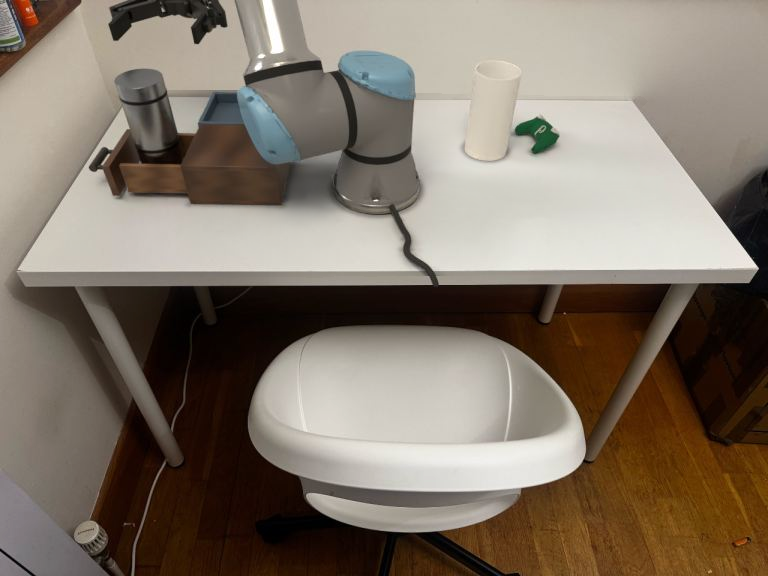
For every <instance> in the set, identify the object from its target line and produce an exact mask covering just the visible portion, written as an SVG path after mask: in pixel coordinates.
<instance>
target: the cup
mask: <svg viewBox="0 0 768 576" xmlns="http://www.w3.org/2000/svg"><path fill="white" fill-rule="evenodd" d="M521 79H522V69H521V68H520V66H518V65H517V64H514V63H511V62H509V61H504V60H485V61H481V62H479V63H478V64H477V65H475V67H474V73H473V81H472V88H471V96H470V104H469V111H468V118H467V126H466V133H465V140H464V152H465V154H466V155H468V156H469V157H471V158H472V159H475V160H477V161H483V162H494V161H499V160H501V159H503V158H504V157H506V155H507V152H508V147H509V141H510V135H511V130H512V125H513V121H514V120H513V119H514V115H515V110H516V105H517V99H518V94H519V89H520V83H521Z"/></svg>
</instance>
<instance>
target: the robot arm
mask: <svg viewBox="0 0 768 576" xmlns="http://www.w3.org/2000/svg"><path fill="white" fill-rule="evenodd" d="M234 4H235V7H236V11H237V15H238V20H239V24H240V27H241V31H242V34H243V35H242V36H243V39H244V43H245V47H246V51H247V55H248V58H249V62H248V64H247V66H246V68H245V70H244V71H243V74H242V77H243V81H244V84H245V85H243V86H241V88H239V89H238V90H237V92H236V93H237V100H238V103H239V106H240V112H241V115H242V118H243V121H244V124H245V126H246V129H247V131H248V133H249V135H250V138H251V140H252V142H253V144H254V145H255V147H256V149H257V150H258V152H259V154H260V155H261V156H262V157H263V158H264V159H265V160H266V161H267V162H269V163H271V164H283V163H288V162H291V163H299V162H300V161H302V160H306V159H307V160H308V159H311V158H315V157H319V156H323V155H327V154H331V153H336V152H339V151H341V154H340V157H339V160H338V164H337V168H336V170H335V172H334V174H333V171H332V172H331V174H332V177H333V178H332V182H333V183H332V184H333V185H332V186H333V193H334V196H335V198H336V199H337V200H338V202H339V203H340V204H342V205H344V207H346V208H347V209H350V210H352V211H355V212H358V213H363V214H369V215H385V214H392V216H393V218H394V220H395V222H396V224H397V227H398V228H399V230H400V232H401V234H402V235H403V237H404V243H403V246H402V248H403V249H402V251H403V254H404V256H405V257H406V258H407V259H408V260H409V261H410V262H412V263H413V264H415V265H416V266H417V267H419V268H421V269H422V270H424V272H425V273H426V274H427V275H428V277H429V279H430V281H431V285H432V286H433V287H435V288H437V287H439V286H440V283H439V280H438V277H437V275H436V273H435V271H434V270H433V269H432V267H431V266H430V265H429V264H427V262H425V261H423V260H422V259H421V258H418V257H417V256H415V255H414V254H413V253H412V252H411V250H410V247H411V244H412V236H411V234H410V232H409V230H408V229H407V227H406V225H405V223H404V222H403V219H402V217H401V215H400V213H399V212H400V211H402V210H404V209H406V208H408V207H409V206H411V205H412V204H413V203H414V202H415V201H416V200H417V199H418V196H419V194H420V185H421V184H420V183H421V180H420V175H419V173H418V171H417V168H416V162H415V159H414V156H413V152H412V145H413V143H412V141H413V130H414V129H413V127H414V114H415V113H414V111H415V99H416V98H417V97H416V96H417V94H416V76H415V72H414V70H413V68H412V66H411V65H410V64H409V63H408V62H406V61H405V60H404V59H402V58H400V57H397V56H396V55H392V54H390V53H385V52H381V51H375V50H352V51H348V52H346V53H344V54H342V56H341V57H340V58H339V60H338V63H337V68H338V69H337V70H332V71H326V72H325V71H324V68H323V63H322V59H321V58H320V57H319V56H318V55H316V54H315V53H313V52H312V51H311V50H310V49H309V48H308V44H307V39H306V34H305V30H304V26H303V22H302V17H301V12H300V8H299V3H298V0H234ZM108 9H109V12H110V15H111V20H110V21H109V23H108V24H107V25H108V28H109V31H110V34H111V38H112V41H114V42H118V41H119V40H120V39H121V38H122V37H124V35H125V34H126V33H127V32H128V31H129V30H130V29H131V28H132V27H133V26H132V25H133V24H134V23H138V22H141V21H144V20H149V19H152V18H156V17H159V18H161V19H163V18H167V17H170V16H173V17H176V16H181V17H183V18H185V19H186V18H187V19H193V20H195V21H194V22H193V24H192V25H191V26H190V30H191V37H192V40H193V44H194V45H199V44H200V43H201V42H202V41H203V39H204V37H205V36H206V35H207V34H210V33H211V32H212V31H213V30H214V29H216V28H217V26H220V27H221V28H225V29H226V28H228V19H227V14H226V10H225V8H224V7H223V6H222V4H221V3H220V0H124V1H121V2H119V3H116V4H114V5H110V6H109V7H108Z"/></svg>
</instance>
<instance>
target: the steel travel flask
mask: <svg viewBox="0 0 768 576" xmlns="http://www.w3.org/2000/svg"><path fill="white" fill-rule="evenodd" d="M114 86H115V88H116V91H117V95H118V98H119V101H120V103H121V107H122V109H123V112H124V116H125V119H126V122H127V125H128V129H130V131H131V134H132V137H133V140H134V144H135V147H136V149H137V152H138V155H139V159H140V162H139V163H140V164H180V165H181V163H182V161H183V159H184V154H183V151H182V147H181V143H180V138H179V135H178V133H179V131H178V128H177V124H176V120H175V117H174V113H173V110H172V109H173V108H172V105H171V101H170V98H169V94H168V90H167V86H166V82H165V78H164V75H163V73H162V72H161V71H160V70H157V69H154V68H134V69H130V70H126V71H124V72H121V73H119V74H118V75H117V76H116V77H115V78H114Z"/></svg>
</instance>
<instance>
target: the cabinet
mask: <svg viewBox="0 0 768 576" xmlns="http://www.w3.org/2000/svg"><path fill="white" fill-rule="evenodd" d="M195 133H196V134H195V136H194V138H193V141H192V143H191V145H190V147H189V149H188V151H187V153H186V155H185V157H184V159H183V161H182V163H181V165H180V166H181V169H182V174H183V177H184V181H185V185H186V188H187V192H188V193H187V196H188V200H189V203H190V204H193V205H233V206H234V205H236V206H237V205H239V206H240V205H241V206H242V205H243V206H282V204H283V200H284V196H285V191H286V187H287V183H288V179H289V178H288V177H289V174H290V170H291V166H292V162H288V163H283V164H271V163H269V162H267V161H266V160H265V159H264V158H263V157H262V156H261V155H260V154H259V152H258V150H257V149H256V147H255V145H254V144H253V142H252V140H251V138H250V135H249V133H248V131H247V129H246V126H245V125H209V124H200V126H199V127H198V128H197V130H196V132H195Z"/></svg>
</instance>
